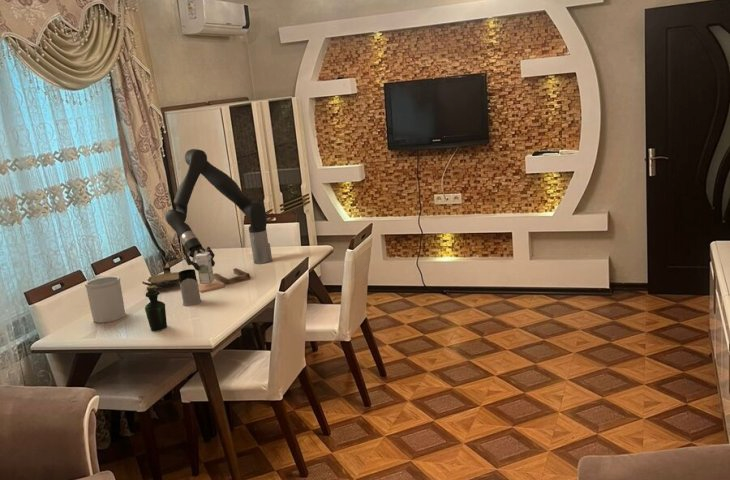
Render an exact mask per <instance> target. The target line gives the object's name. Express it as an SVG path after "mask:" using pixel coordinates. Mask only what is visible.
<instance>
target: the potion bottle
mask: <svg viewBox="0 0 730 480" xmlns="http://www.w3.org/2000/svg"><path fill="white" fill-rule="evenodd" d="M146 290H147V291H146V292H145V297H146V298H148V300H149V302H148V303H147V304H146V305H145V307H144V310H145V314H146V317H147V321H148V325H149V328H150V330H151V331H153V332H158V330H159V331H162V329H163V330H165V329H167V327H168V323H167V321H168V320H167V313H166V311H167V310H166V304H165V303H164V302H163V301H160V300H158V296H159V295H161V292H160V290H157V287H156V286H155V285H153V286H148V285H147V286H146Z"/></svg>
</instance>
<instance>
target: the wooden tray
mask: <svg viewBox="0 0 730 480" xmlns="http://www.w3.org/2000/svg"><path fill="white" fill-rule="evenodd" d="M232 270H233V274H234V275H237V276H233V277H230V278H227V277H225V276H222V275H220V274H218V273H216V272H215V273H213V275H214V281H215V280H216V281H218V282H220V283H222V284H224V285H226V286H228V285H232V284H236V283H239V282H243V281H247V280H250V279H251V275H250V273H248V272H247V271H243V270H241V269H239V268H232Z"/></svg>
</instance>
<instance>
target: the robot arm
mask: <svg viewBox="0 0 730 480" xmlns="http://www.w3.org/2000/svg"><path fill="white" fill-rule="evenodd" d="M184 161H185V163H186V164H187V165H188V169H187V171H186V172H187V173H186V174H185V176H184V178H183V180H182V182H181V183H180V185H179V187H178V188H177V191H176V193H175V196H174V199H173V204H174V205H175V206H176V207H175V209H168V210H167V211H166V212H165V220H166V222H167V224H168V225H169V226H170V228H172V230H173V231H175V233H176V234H177V236H178V238H179V240H180V242H181V243H182V246H183V247H184V249H185V250H186V252H185V253H184V255H183V258H184V260H185V262H186V264H187V265H188V266H193V268H194V270H195V271H197V272H198V271H199V269H200V268H199V266H198V264H197V262H196V257H195V256H196V255H197V254H198V253H205V252H210V256H211V263H212V268H213V267H215V264H216V262H215V260H214V258H215V253H214V251H213V250H212V249H211V248H210V246H207V247H206V248H204V247H203V245H202V243H201V241H200V240H199V239H198V237H197V235H196V234H195V233H194V231H193V230H192V228H191V227H190V225H189V224H188V223H187V222H186V221H187V217H188V215H187V214H188V206H189V205H188V204H189V203H190V200H191V197H192V193H193V192H194V188H195V186H196V183H197V180H199V177H200V175H202V176H203V177H204V178H205V179H206V180H207V181H208V182H209V184H211V186H213V187H214V188H215V189H216V190H217V191H218V192H220V194H222V195H223V196H224V197H225V198H227V199H228V200H229V201H231V203H233V204H235V206H237V207H238V209H239V210H240V211H241V213H243V215H244V216H246V217H247V218H249V221H250V225H249V226H248V232H249V239H250V246H251V253H252V259H253V263H254V264H257V265H260V264H261V265H262V264H267V263H269V262H273V255H272V250H271V249H272V248H271V243H269V239H268V231H267V224H268V222H267V213H266V207H265V205H264V204H263V203H262V202H261V201H255V200H253V199H251V198H250V197H249V196H248V195H246V194H245V193H244V192H243V191H242V189H241V187H240V186H239V185H238V183H237V182H236V181H235V180H234V179H233V178H232V177H231V176H230V175H228V174H227V173H225V172H223V170H221V169H220V168H218V167H216V166H215V165H213V164H212V163H210V161H208V154H207V153H206V152H205V151H204V150H202V149H197V148H192V149H188V150H187V151H186V152H185V154H184ZM191 258H192V260H191Z"/></svg>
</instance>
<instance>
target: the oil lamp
mask: <svg viewBox="0 0 730 480" xmlns="http://www.w3.org/2000/svg"><path fill="white" fill-rule="evenodd" d="M162 271H163V273H161V274H155V275H152V276H149V277H148V279H146V281H147V282H145V281H142V282H141V283H142V284H143V285H146V286H147V287H148V286H153V285H155V286H156V288H160V289H162V288H167V287H168V288H169V287H172V286H176V285H177V284H180V280H179V275H178V273H179V272H180V271H176V272H174V271H173V272H171V267H170V264H169V263H168V262H167V263H166V264H165V266H164V267H163V268H162Z"/></svg>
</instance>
